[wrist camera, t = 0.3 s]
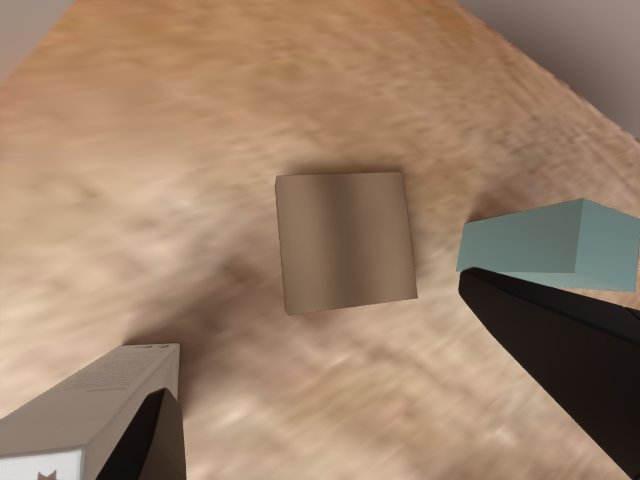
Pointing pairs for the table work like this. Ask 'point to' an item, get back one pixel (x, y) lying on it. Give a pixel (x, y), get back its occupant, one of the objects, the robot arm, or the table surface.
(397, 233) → the walnut block
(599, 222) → the teal block
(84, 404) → the skincare box
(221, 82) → the table surface
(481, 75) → the table surface
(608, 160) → the table surface
